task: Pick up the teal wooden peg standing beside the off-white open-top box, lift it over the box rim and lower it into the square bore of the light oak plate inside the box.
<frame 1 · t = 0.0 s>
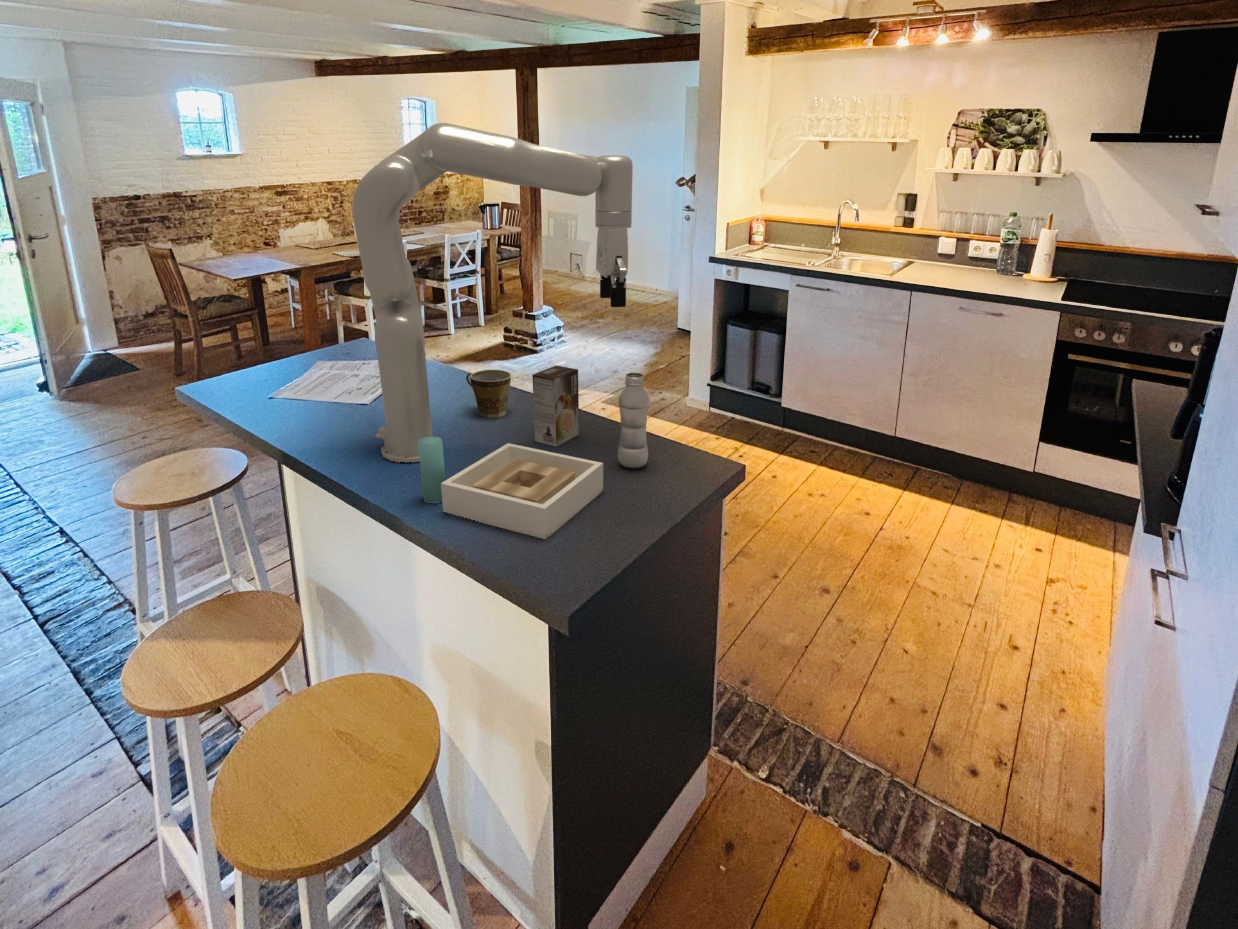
hand: (612, 302, 165), 31 cm above the countertop, tool pointing down, fingers open, 9 cm apart
plastic bottle: (632, 466, 162), on the countertop
bore plate: (525, 488, 145), in the open box, point 3 cm above the countertop
ceramic cup: (488, 413, 191), on the countertop
open box: (525, 501, 146), on the countertop
coffee box: (557, 439, 176), on the countertop
peg: (435, 498, 146), on the countertop
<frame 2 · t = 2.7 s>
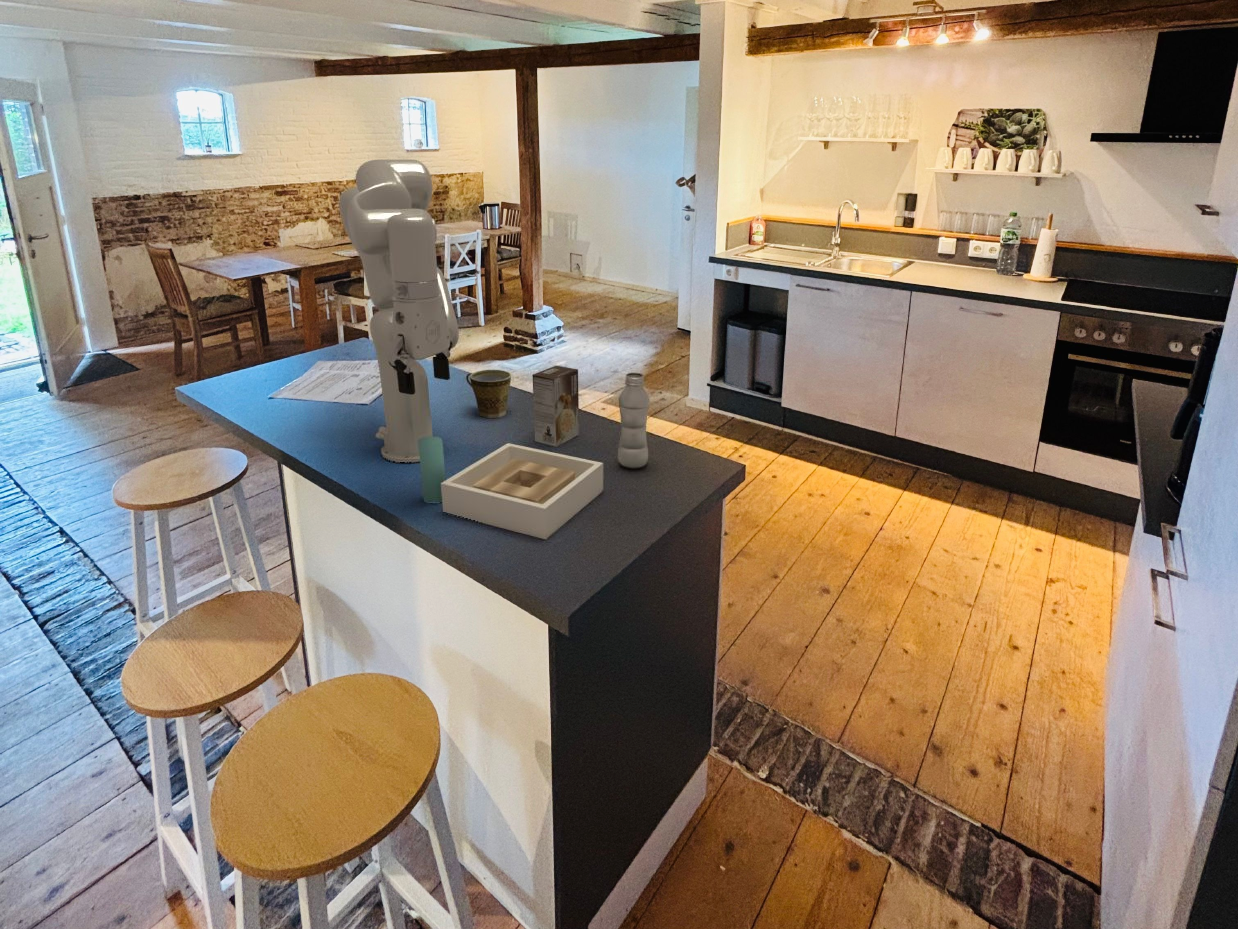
hand: (425, 385, 137), 23 cm above the countertop, tool pointing down, fingers open, 9 cm apart
nothing on the countertop moved.
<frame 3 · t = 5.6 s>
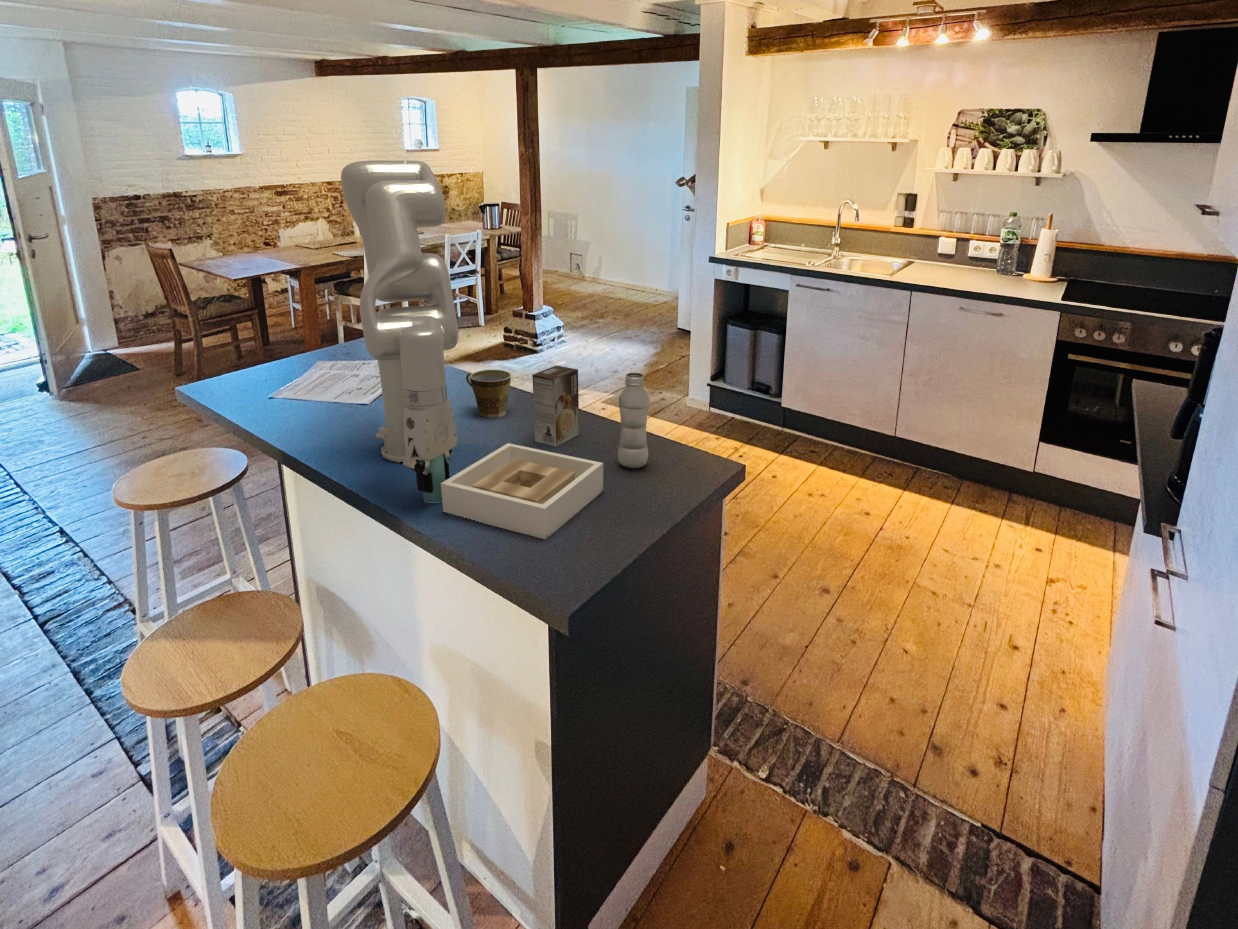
hand: (434, 485, 145), 3 cm above the countertop, tool pointing down, fingers closed on peg, 4 cm apart
peg: (435, 498, 146), on the countertop, touching gripper
everything else where it was.
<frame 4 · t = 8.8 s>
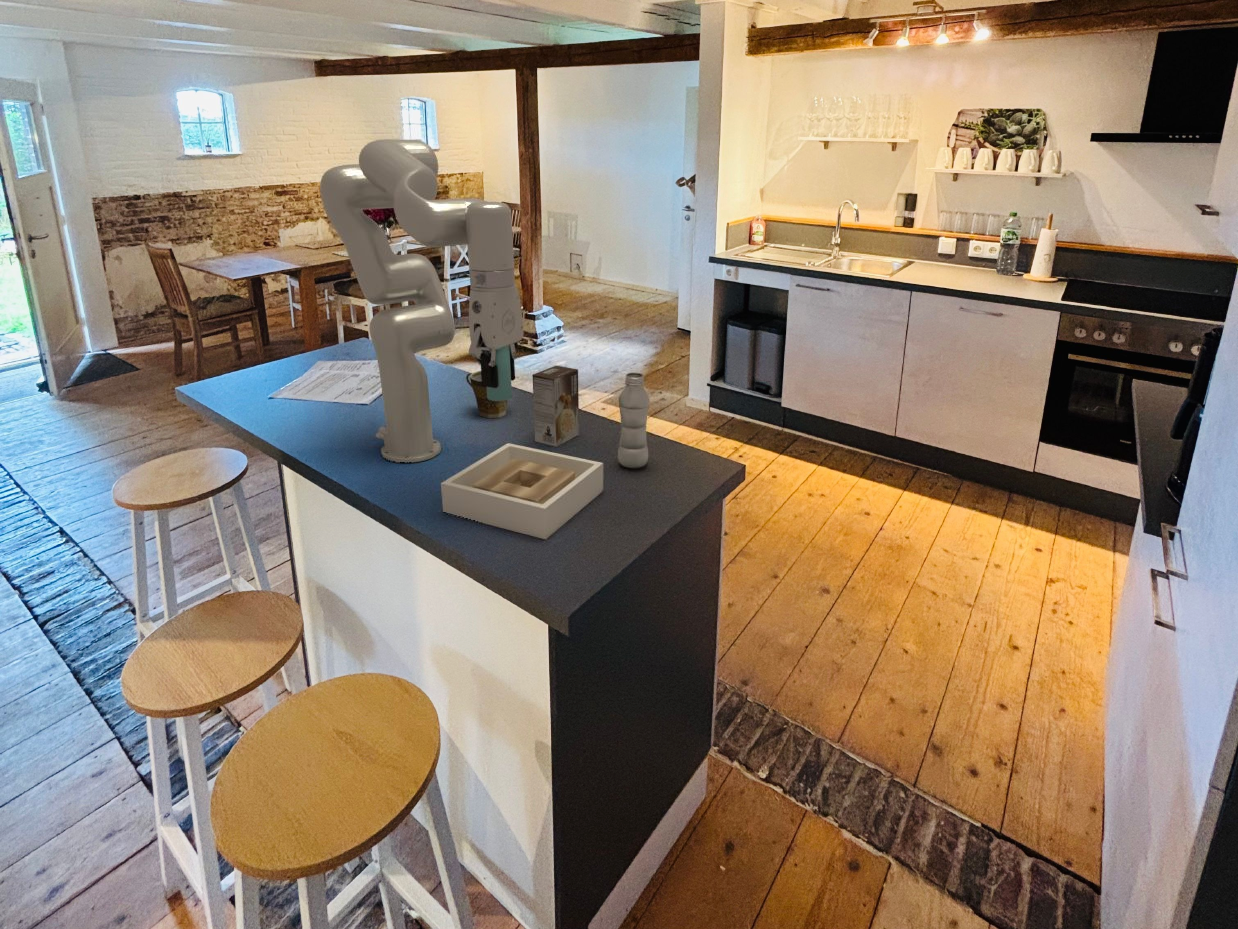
hand: (498, 381, 136), 24 cm above the countertop, tool pointing down, fingers closed on peg, 4 cm apart
peg: (499, 397, 137), point 21 cm above the countertop, touching gripper
everything else where it was.
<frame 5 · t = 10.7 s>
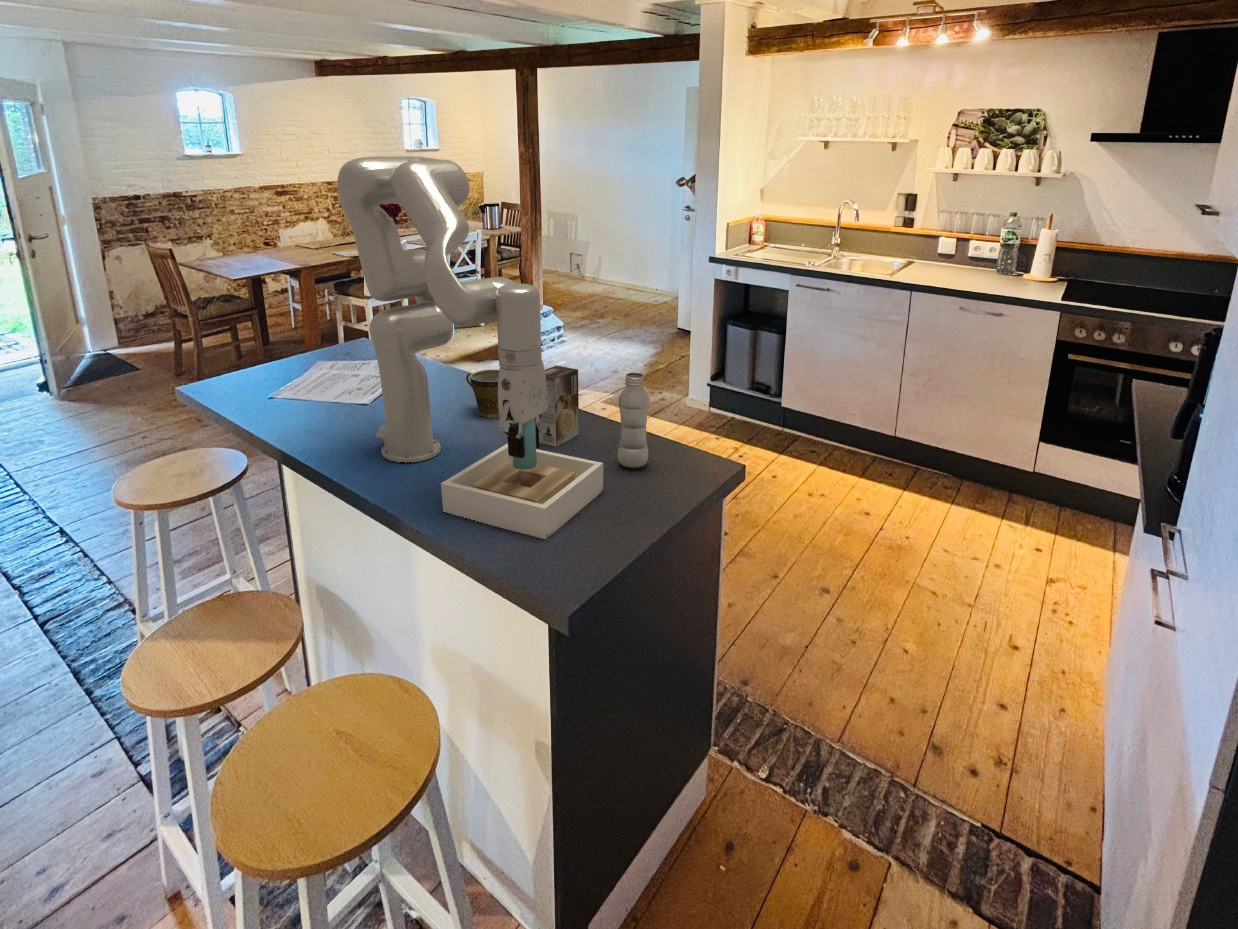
hand: (524, 450, 142), 11 cm above the countertop, tool pointing down, fingers closed on peg, 4 cm apart
peg: (524, 464, 143), point 8 cm above the countertop, touching gripper
everything else where it was.
when the fingers open (6 cm above the countertop, at t = 12.4 s): peg drops 3 cm, resting on open box.
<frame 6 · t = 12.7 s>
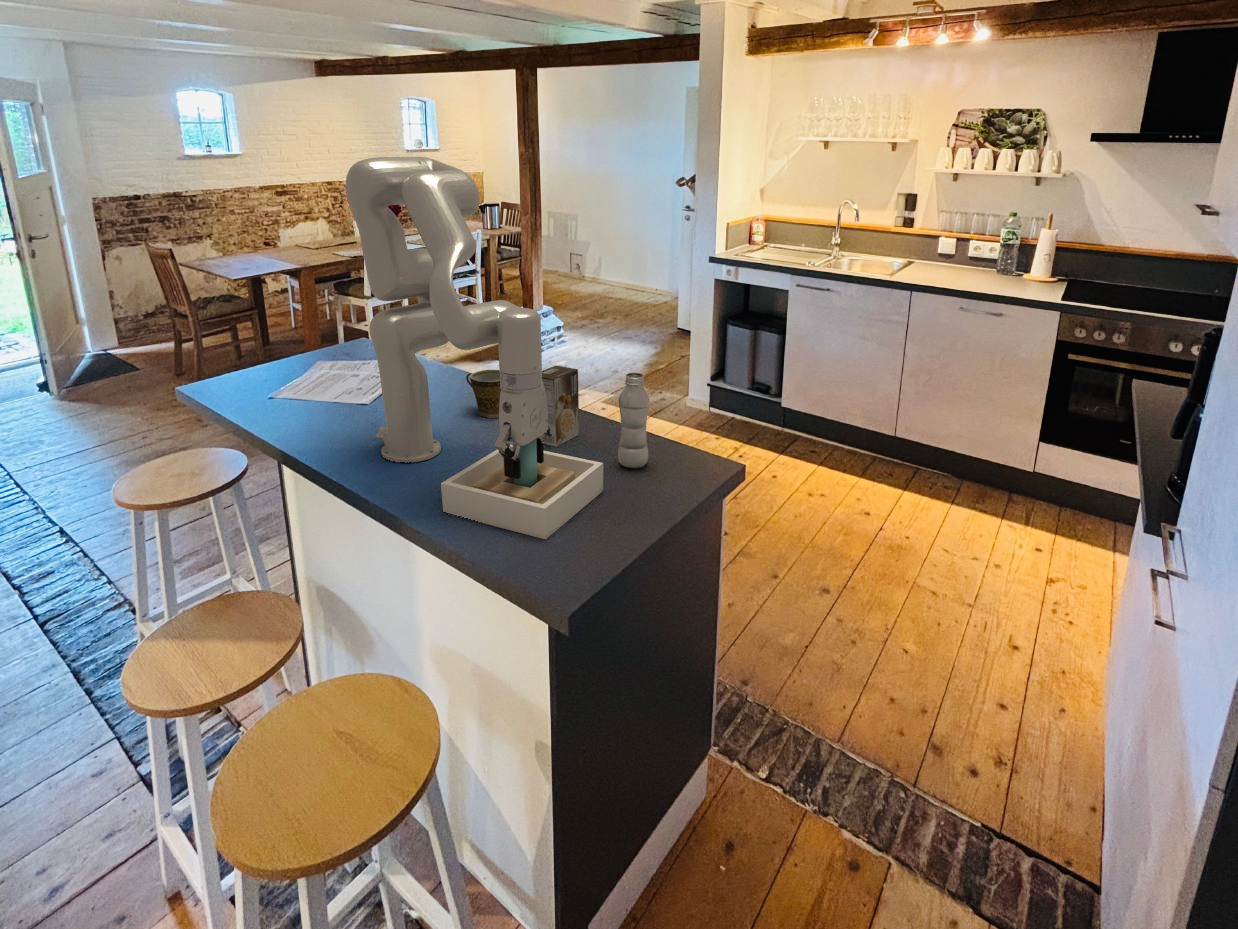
hand: (524, 468, 143), 7 cm above the countertop, tool pointing down, fingers open, 7 cm apart
peg: (526, 497, 146), point 1 cm above the countertop, touching open box
everything else where it was.
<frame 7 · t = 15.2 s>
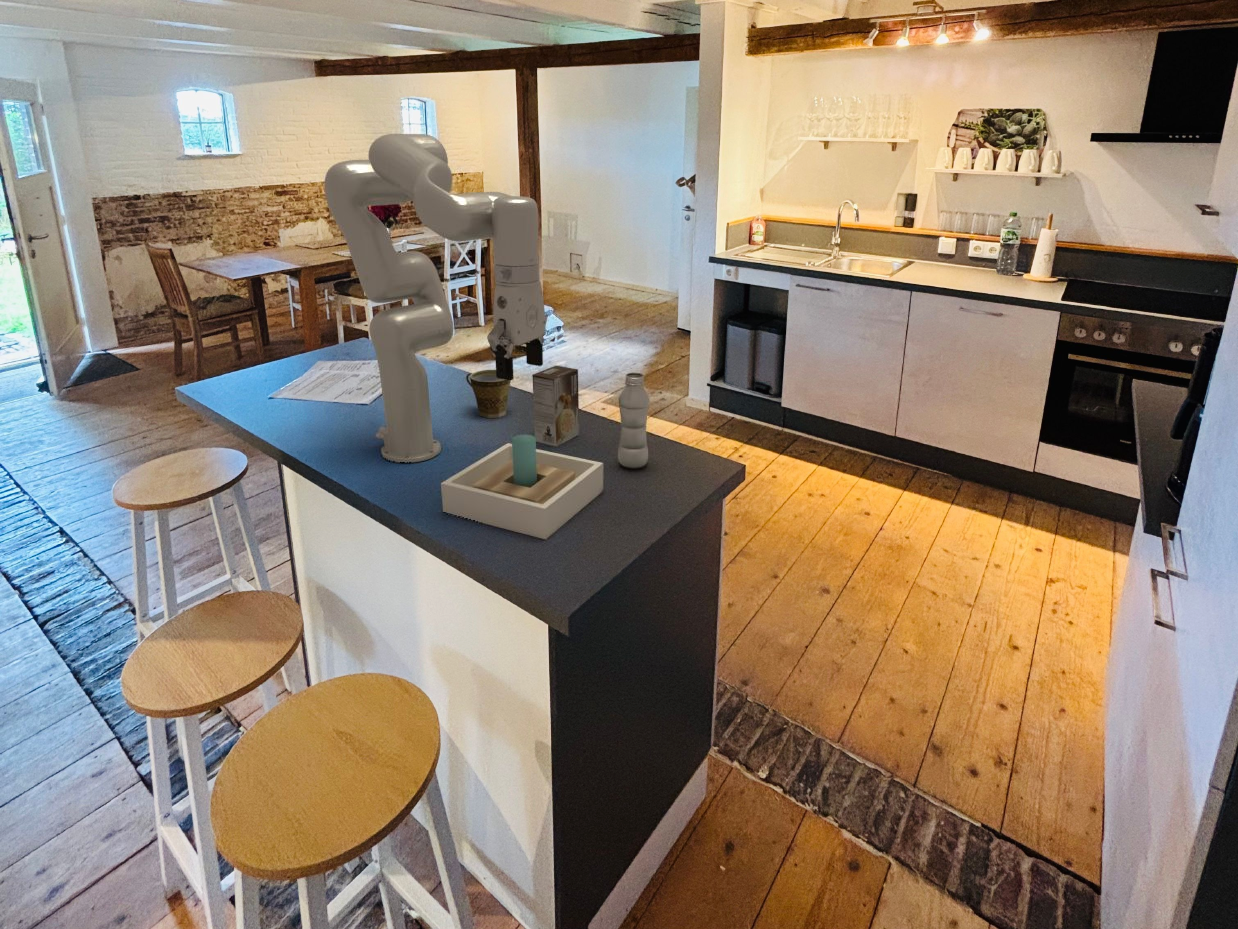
hand: (520, 371, 136), 26 cm above the countertop, tool pointing down, fingers open, 9 cm apart
nothing on the countertop moved.
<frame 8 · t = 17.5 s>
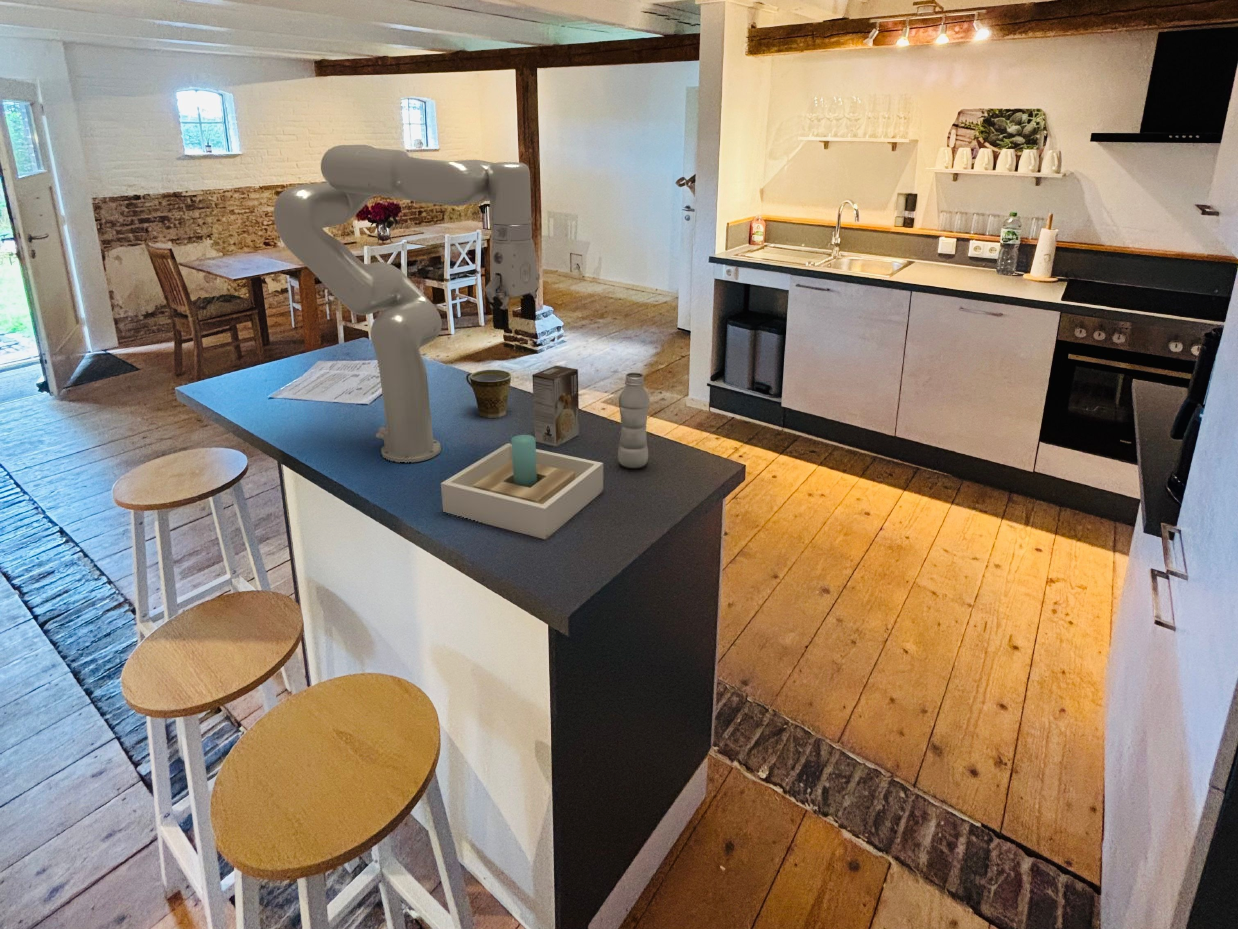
hand: (515, 323, 149), 30 cm above the countertop, tool pointing down, fingers open, 9 cm apart
nothing on the countertop moved.
at the end: peg 0.1 cm off-centre on the bore plate, point 0.8 cm above the bore plate's base; peg tilted 0°; the gripper is holding nothing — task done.
